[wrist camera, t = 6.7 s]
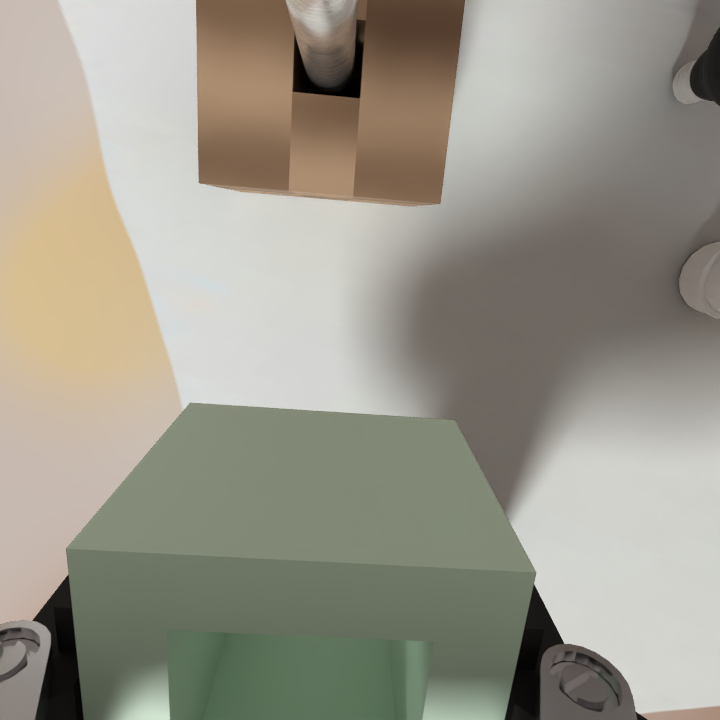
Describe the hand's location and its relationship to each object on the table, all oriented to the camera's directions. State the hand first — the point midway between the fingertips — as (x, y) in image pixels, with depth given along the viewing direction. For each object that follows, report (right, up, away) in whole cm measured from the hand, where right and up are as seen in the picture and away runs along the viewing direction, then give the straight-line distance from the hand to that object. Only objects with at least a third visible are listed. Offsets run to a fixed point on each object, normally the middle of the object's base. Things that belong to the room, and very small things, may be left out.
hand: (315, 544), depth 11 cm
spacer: (0, 0, +1) cm, 1 cm away
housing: (-1, +21, +21) cm, 30 cm away
